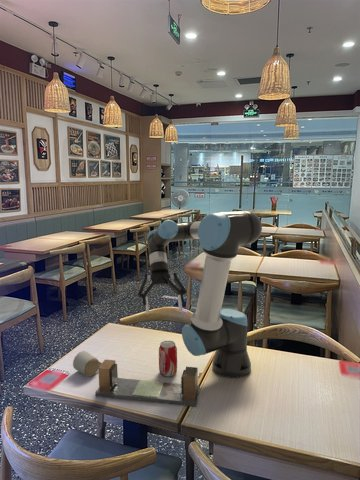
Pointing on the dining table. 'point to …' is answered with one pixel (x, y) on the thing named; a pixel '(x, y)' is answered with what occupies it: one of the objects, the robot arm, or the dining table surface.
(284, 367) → the dining table surface
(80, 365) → the ceramic mug
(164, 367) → the soda can
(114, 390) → the rail
